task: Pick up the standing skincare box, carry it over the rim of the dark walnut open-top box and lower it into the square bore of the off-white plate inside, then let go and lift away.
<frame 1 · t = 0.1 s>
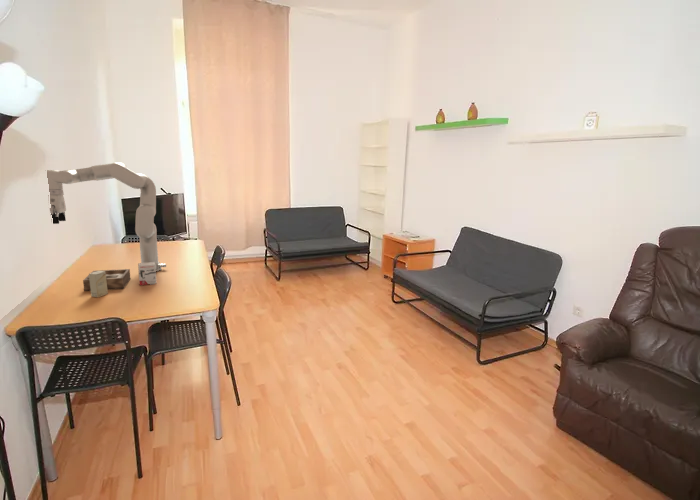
hand: (59, 222, 217), 31 cm above the table, tool pointing down, fingers open, 9 cm apart
bore box: (108, 284, 209), on the table
ink box: (148, 283, 214), on the table
skincare box: (99, 295, 194), on the table
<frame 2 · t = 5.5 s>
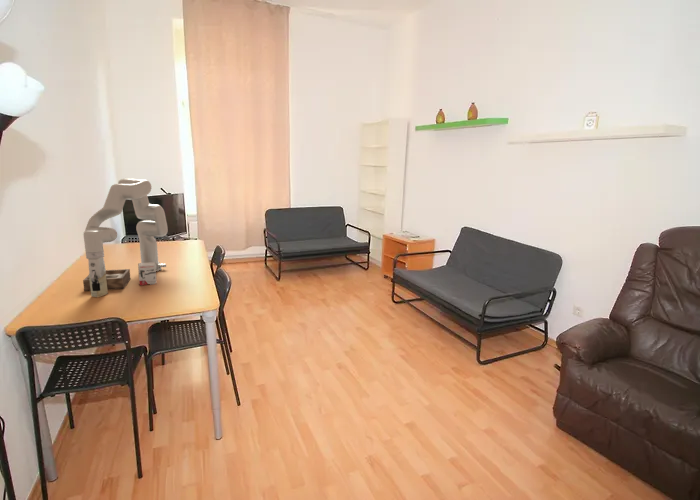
hand: (98, 287, 193), 4 cm above the table, tool pointing down, fingers closed on skincare box, 7 cm apart
skincare box: (99, 295, 194), on the table, touching gripper
everything else where it was.
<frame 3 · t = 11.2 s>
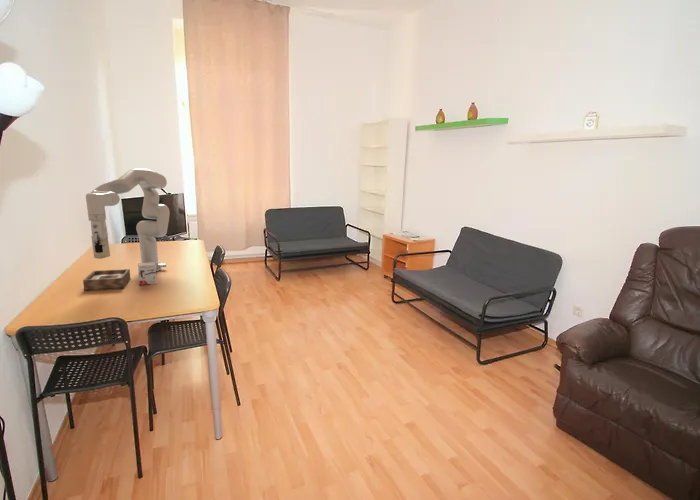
hand: (101, 250, 198), 21 cm above the table, tool pointing down, fingers closed on skincare box, 7 cm apart
skincare box: (102, 257, 199), point 17 cm above the table, touching gripper
everything else where it was.
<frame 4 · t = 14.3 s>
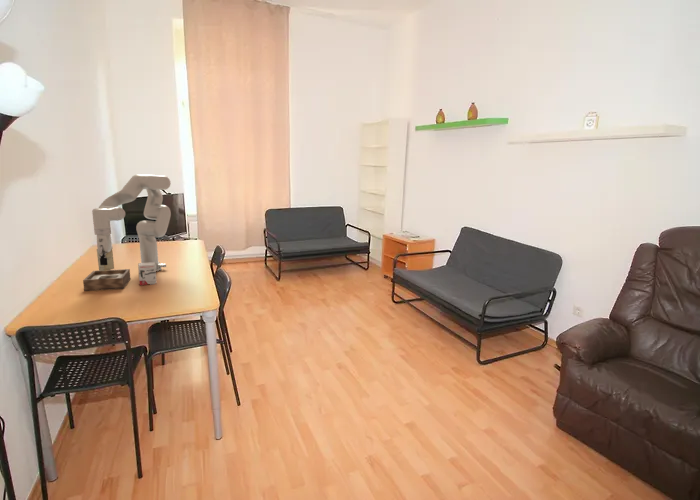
hand: (106, 262, 206), 13 cm above the table, tool pointing down, fingers closed on skincare box, 7 cm apart
skincare box: (106, 269, 207), point 9 cm above the table, touching gripper
everything else where it was.
when the fingers open (6 cm above the table, at t = 16.8 s): skincare box drops 1 cm, resting on bore box.
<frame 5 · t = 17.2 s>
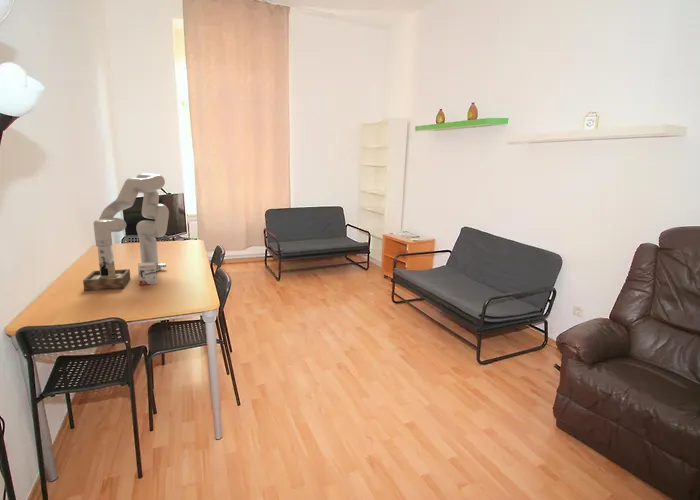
hand: (107, 273, 208), 7 cm above the table, tool pointing down, fingers open, 9 cm apart
skincare box: (108, 283, 209), point 1 cm above the table, touching bore box
everything else where it was.
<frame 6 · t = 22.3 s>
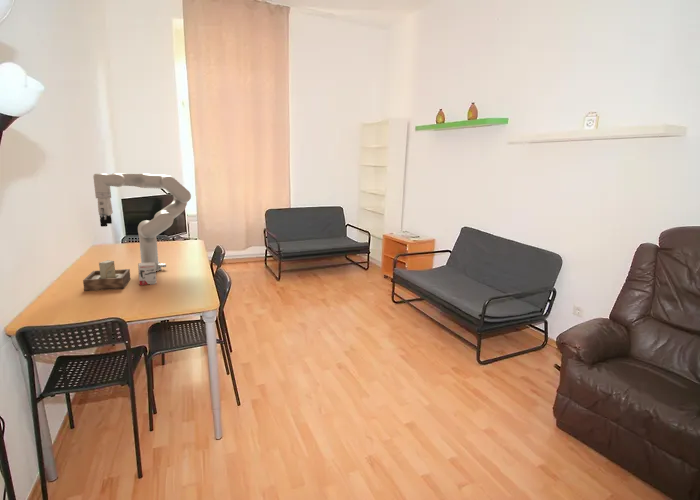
hand: (106, 224, 220), 30 cm above the table, tool pointing down, fingers open, 9 cm apart
nothing on the table moved.
at the end: skincare box 0.5 cm off-centre on the bore box, point 0.8 cm above the bore box's base; skincare box tilted 0°; the gripper is holding nothing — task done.
